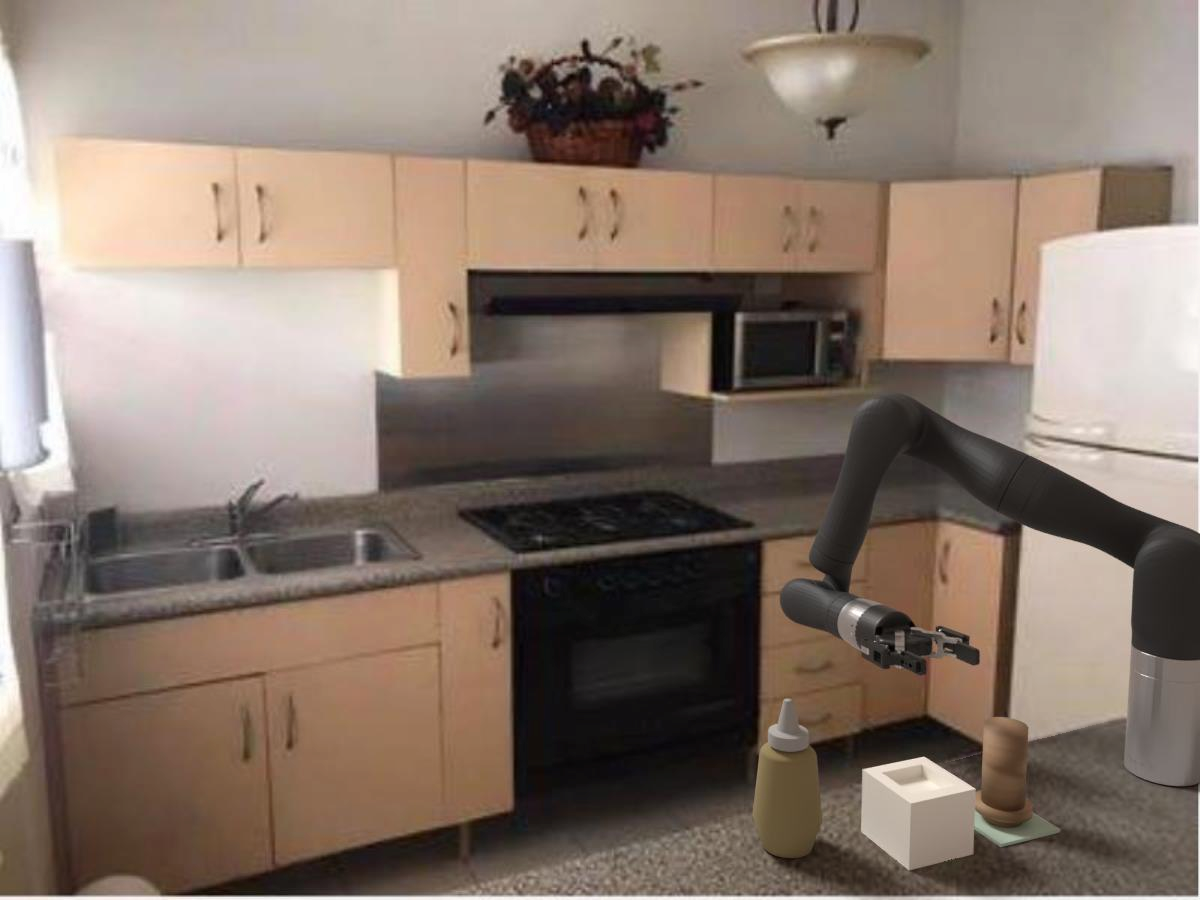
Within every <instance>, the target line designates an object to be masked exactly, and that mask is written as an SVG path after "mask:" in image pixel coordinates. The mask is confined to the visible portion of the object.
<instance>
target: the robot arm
mask: <svg viewBox="0 0 1200 900" xmlns="http://www.w3.org/2000/svg"><path fill="white" fill-rule="evenodd" d="M850 428H851V429H850V430H849V431H850V432H849V435H848V441H847V446H846V449H845V455H844V458H843V461H842V462H843V463H842V466H841V470H840V473H839V476H838V479H837V482H836V486H835V489H834V491H833V493H832V494H833V495H832V496H831V500H830V502H829V505H828V507H827V508H826V512H825V514H824V516H823V519H822V521H821V524H820V526H819V529H818V531H817V533H816V536H815V538H814V540H813V543H812V545H811V548H810V551H809V553H808V560H809V563H810V565H811V566H812V567H813V569H815V570H816V571H818V572H820V573H822V574H824V577H823V579H822V580H818V579H811V578H802V577H801V578H800V577H798V578H793V579H791V580H789V581H787V582H786V583H785V584H784V586H783V587H782V589H781V591H780V592H779V593H780V594H779V605H780V609H781V610H782V613H784V615H785V616H786V618H788V619H789V620H790V621H792V622H794V623H795V624H799V625H802V626H804V627H808V628H811V629H815V630H820V631H822V632H826V633H828V634H831V635H832V636H834V637H835V638H837V639H839V640H842V641H844V642H846V643H848V645H851V646H852V647H853V648H855V649H856V650H858V651H861V653H860V655H861V658H863V659H865V660H866V661H868V662H869V663H871V664H873V665H875V666H877V667H878V668H880V669H883V670H889V669H891V666H894V667H895V668H896V669H900V670H901V669H906V670H908V671H909V672H912V673H914V674H915V675H918V676H924V675H926V674H927V664H928V663H927V660H926V658H933V659H938V660H941V659H943V657H949V658H956V659H957V660H959V661H961V662H964V663H966V664H969V665H971V666H978V665H980V663H981V661H980V660H981V657H980V655H981V653H980V649H978V648H976V647H974V646H971V645H970V638H971V637H970V635H967V634H965V633H962V632H959V631H958V630H957V631H956V630H954V629H951V628H949V627H945V626H942V625H935V630H934V631H933V630H925V629H924V628H922V627H917V626H916V625H915V623H914V621H913V620H912V617H910V616H909V615H908V614H906V613H904V612H902V611H900V610H897V609H895V608H892V607H890V606H887V605H885V604H883V603H879V602H877V601H875V600H871V599H866V598H863V597H860V596H858V595H855V594H854V593H853V594H852V593H850V586H851V580H852V571H853V567H854V565H855V563H856V560H857V558H858V555H859V553H860V551H861V549H862V547H863V544H864V542H865V539H866V536H867V533H868V530H869V527H870V523H871V518H872V512H873V510H874V509H873V508H874V503H875V499H876V498H877V497H876V496H877V493H878V490H879V488H880V485H881V483H882V481H883V479H884V477H885V475H886V473H887V472H888V469H889V468H890V467H891V465H892V464H893V462H894V461H895V459H896V458H897V456H898V455H899V454H901V455H904V456H907V457H910V458H912V459H915V460H917V461H920V462H922V463H925V464H927V465H929V466H931V467H933V468H935V469H936V470H939V471H940V472H943V473H944V474H946V475H947V476H948V477H949V478H951V479H952V480H953V481H954V482H955V483H956V484H958V485H959V486H960V487H961V488H963V489H964V490H965V492H967V493H969V494H970V495H971V496H972V497H973V498H975V499H976V500H978V502H980V503H981V504H983V505H984V506H986V507H988V508H989V509H990V510H993V511H995V512H998V513H999V514H1001V515H1003V516H1004V517H1006V518H1008V519H1010V520H1013V521H1015V522H1017V523H1019V524H1021V525H1022V526H1025V527H1027V528H1029V529H1032V530H1034V531H1037V532H1040V533H1043V534H1047V535H1051V536H1053V537H1058V538H1060V539H1061V538H1062V539H1064V540H1068V541H1073V542H1077V543H1080V544H1084V545H1086V546H1090V547H1092V548H1095V549H1096V550H1099V551H1101V552H1103V553H1105V554H1107V555H1109V556H1110V557H1113V558H1115V559H1116V560H1118V561H1120V562H1121V563H1122V564H1125V565H1127V566H1128V567H1130V568H1131V569H1133V574H1132V575H1133V576H1132V590H1131V591H1132V595H1131V615H1130V625H1131V626H1130V627H1131V641H1130V643H1131V645H1130V647H1131V648H1130V658H1129V659H1130V662H1129V680H1128V693H1127V694H1128V695H1127V696H1128V697H1127V710H1126V726H1125V739H1124V741H1125V742H1124V754H1123V755H1124V756H1123V757H1124V758H1123V764H1124V767H1125V769H1126V770H1127V771H1128V772H1130V773H1131V774H1133V775H1135V776H1136V777H1138V778H1141V779H1142V780H1146V781H1148V782H1152V783H1155V784H1160V785H1165V786H1171V787H1173V786H1174V787H1187V786H1188V787H1189V786H1194V785H1197V784H1200V532H1198V531H1196V530H1195V529H1192V528H1190V527H1187V526H1184V525H1181V524H1179V523H1176V522H1174V521H1173V522H1172V521H1170V520H1167V519H1164V518H1162V517H1159V516H1156V515H1154V514H1151V513H1148V512H1145V511H1143V510H1140V509H1137V508H1134V507H1132V506H1129V505H1127V504H1125V503H1123V502H1121V501H1119V500H1117V499H1115V498H1113V497H1111V496H1110V495H1107V494H1106V493H1104V492H1102V491H1101V490H1099V489H1096V488H1095V487H1093V486H1091V485H1090V484H1088V483H1086V482H1084V481H1082V480H1080V479H1078V478H1076V477H1074V476H1072V475H1070V474H1068V473H1066V472H1065V471H1063V470H1061V469H1060V468H1057V467H1055V466H1053V465H1051V464H1049V463H1047V462H1044V461H1043V460H1041V459H1038V458H1036V457H1035V456H1032V455H1029V454H1028V453H1025V452H1023V451H1020V450H1018V449H1016V448H1013V447H1011V446H1008V445H1007V444H1003V443H1002V442H999V441H997V440H995V439H993V438H989V437H987V436H985V435H982V434H979V433H976V432H974V431H971V430H969V429H967V428H965V427H962V426H961V425H958V424H957V423H955V422H953V421H952V420H949V419H948V418H946V417H945V416H942V414H940V413H938V412H936V411H935V410H933V409H931V408H929V407H928V406H926V405H924V403H922V402H920V401H918V400H917V399H915V398H913V397H911V396H909V395H907V394H904V393H901V392H888V393H884V394H879V395H876V396H873V397H870V398H869V399H867V400H865V401H864V402H862V404H860V405H859V407H858V408H857V410H855V413H854V416H853V419H852V423H851V427H850ZM933 642H935V645H937V646H936V650H937V651H933ZM947 649H948V650H947ZM924 657H925V658H924Z"/></svg>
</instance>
